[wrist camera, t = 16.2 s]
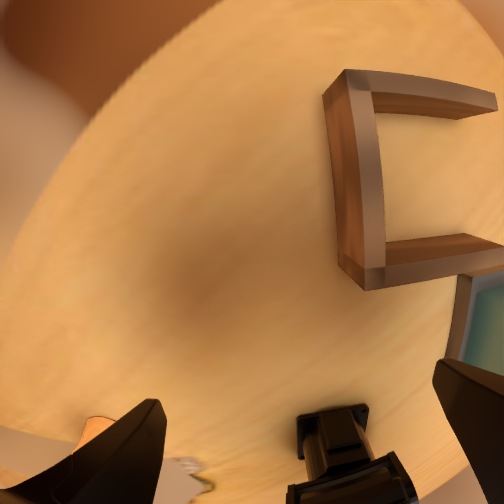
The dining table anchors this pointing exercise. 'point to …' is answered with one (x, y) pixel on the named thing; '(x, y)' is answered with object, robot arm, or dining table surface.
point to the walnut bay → (371, 185)
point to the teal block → (487, 332)
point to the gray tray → (469, 306)
